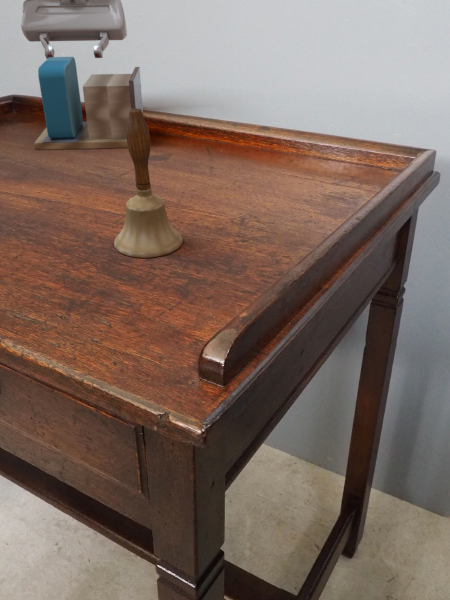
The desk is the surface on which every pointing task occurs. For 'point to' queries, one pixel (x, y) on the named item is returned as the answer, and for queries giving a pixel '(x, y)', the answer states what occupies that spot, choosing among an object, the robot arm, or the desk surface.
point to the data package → (60, 97)
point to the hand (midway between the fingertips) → (73, 56)
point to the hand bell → (144, 203)
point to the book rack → (102, 113)
